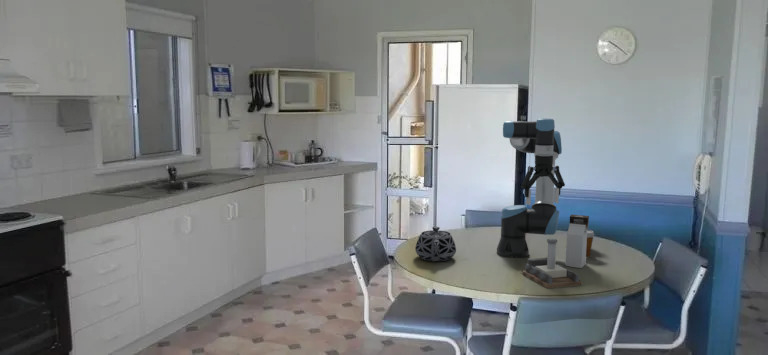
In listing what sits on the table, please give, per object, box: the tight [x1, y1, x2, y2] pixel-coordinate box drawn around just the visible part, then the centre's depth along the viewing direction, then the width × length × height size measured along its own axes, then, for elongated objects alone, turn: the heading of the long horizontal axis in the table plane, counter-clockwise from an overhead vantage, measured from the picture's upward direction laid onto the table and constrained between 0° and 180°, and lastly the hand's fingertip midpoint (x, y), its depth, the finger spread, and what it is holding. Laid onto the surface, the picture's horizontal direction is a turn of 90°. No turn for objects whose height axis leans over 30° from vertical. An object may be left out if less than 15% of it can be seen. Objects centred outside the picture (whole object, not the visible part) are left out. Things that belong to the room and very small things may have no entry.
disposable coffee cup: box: [586, 229, 595, 258], centre depth 299 cm, size 10×10×12 cm
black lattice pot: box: [414, 226, 457, 262], centre depth 294 cm, size 19×31×15 cm, turn 177°
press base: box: [521, 257, 583, 289], centre depth 261 cm, size 20×16×6 cm
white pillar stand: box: [535, 238, 567, 278], centre depth 261 cm, size 8×10×15 cm
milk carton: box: [565, 222, 587, 269], centre depth 282 cm, size 7×7×19 cm
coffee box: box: [568, 214, 590, 230], centre depth 315 cm, size 9×6×16 cm
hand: (542, 203), depth 271 cm, fingers open, 13 cm apart
